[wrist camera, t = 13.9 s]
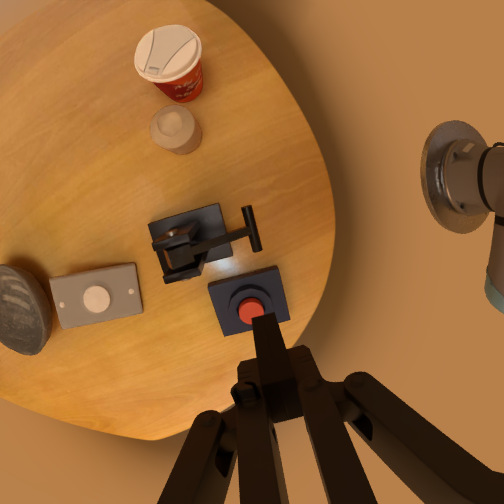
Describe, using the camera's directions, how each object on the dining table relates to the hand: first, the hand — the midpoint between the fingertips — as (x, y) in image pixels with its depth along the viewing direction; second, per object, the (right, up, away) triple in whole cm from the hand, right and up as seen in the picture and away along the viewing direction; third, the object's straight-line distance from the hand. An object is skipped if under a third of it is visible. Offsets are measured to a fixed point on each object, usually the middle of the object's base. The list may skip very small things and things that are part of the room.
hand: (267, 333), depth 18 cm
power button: (-1, -3, +25) cm, 25 cm away
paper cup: (-11, +30, +19) cm, 37 cm away
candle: (-11, +22, +21) cm, 33 cm away
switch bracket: (-10, +7, +25) cm, 28 cm away
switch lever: (-6, +6, +18) cm, 20 cm away
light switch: (-26, -1, +26) cm, 37 cm away
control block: (-1, -3, +28) cm, 28 cm away
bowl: (-44, -4, +25) cm, 51 cm away
